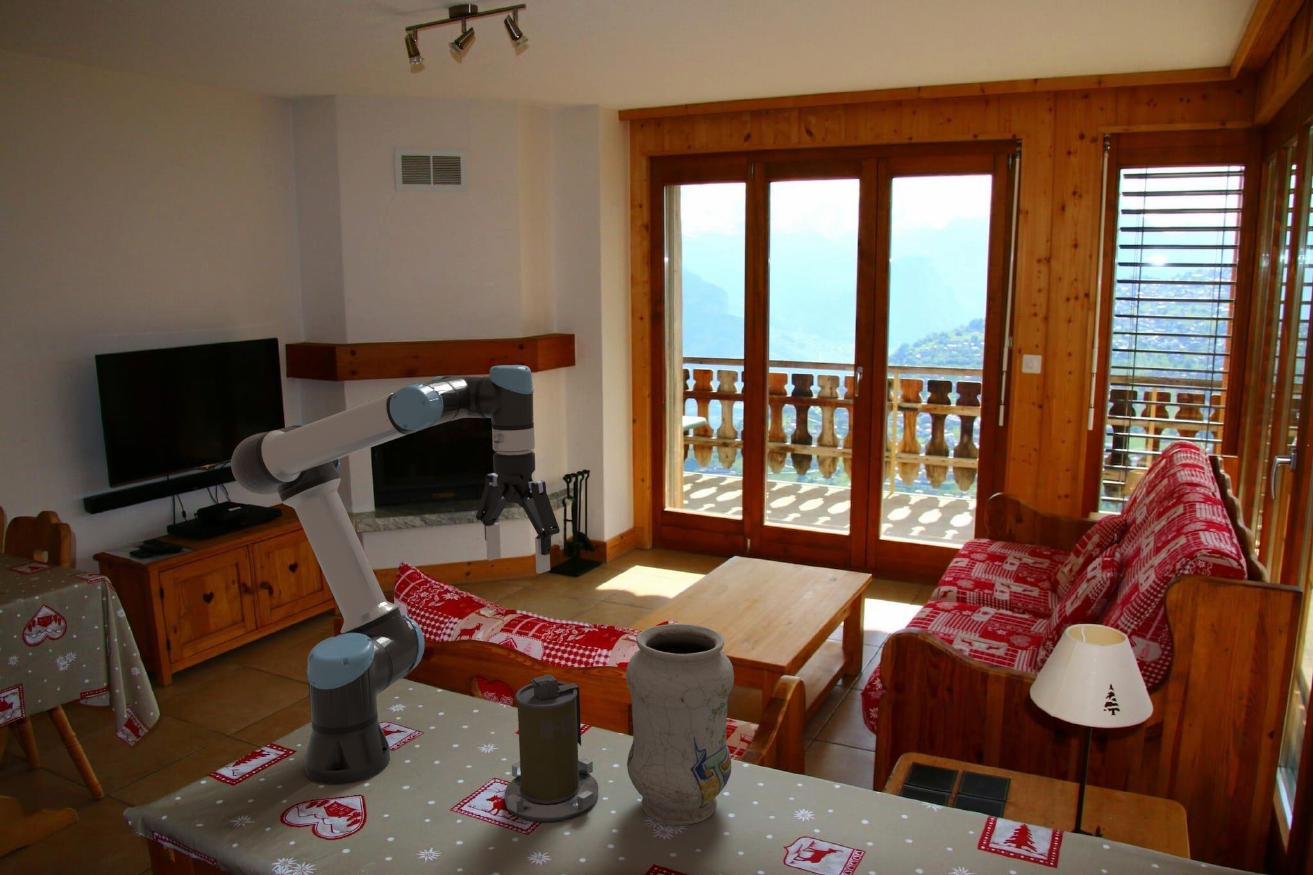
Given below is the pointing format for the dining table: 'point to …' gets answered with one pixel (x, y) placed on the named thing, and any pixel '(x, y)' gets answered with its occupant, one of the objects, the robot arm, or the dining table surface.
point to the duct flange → (553, 811)
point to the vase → (679, 721)
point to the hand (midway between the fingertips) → (518, 565)
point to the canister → (549, 739)
